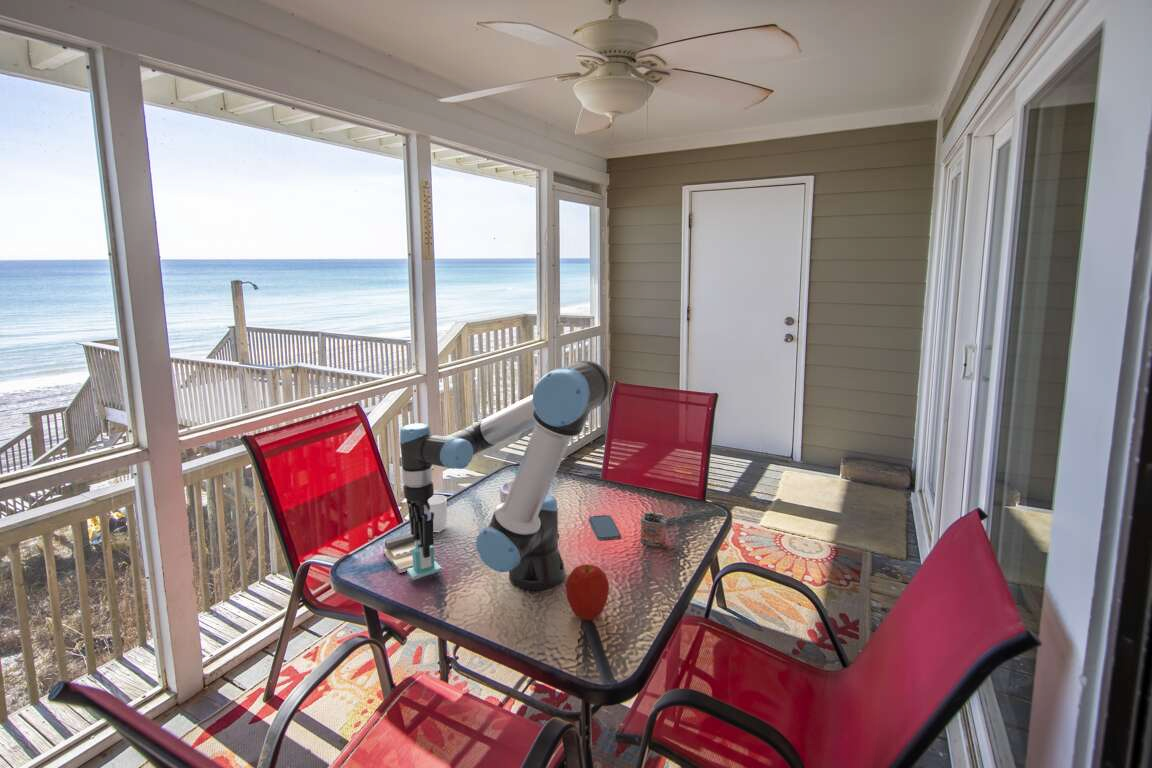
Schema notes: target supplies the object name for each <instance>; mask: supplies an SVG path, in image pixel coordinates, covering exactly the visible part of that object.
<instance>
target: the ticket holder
mask: <svg viewBox="0 0 1152 768" xmlns="http://www.w3.org/2000/svg"><path fill="white" fill-rule="evenodd" d="M415 541H416V540H414V535H412V534H411V533H408V534H404V535H402V536H398V537H397V536H396V537H394V538H391V539H387V540H384V548H385V549H384V548H383V550H382V552H383V551H384V552H385V553H386V554H387V555H388V556H389V558H390V559H391V560H392V561H393V562H394V564H395V565H396V566H397V567H398V569H399V570H401V569H404V568H408V567H411V566H413V555H412V549H413V548H415Z"/></svg>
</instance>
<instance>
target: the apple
mask: <svg viewBox="0 0 1152 768" xmlns="http://www.w3.org/2000/svg"><path fill="white" fill-rule="evenodd" d="M565 590H566V599H567V602H568V604H569V607H570V608H571V611H572V613H573V614H574V615H575V616H576V617H578V618H579V619H580V620H583V621H593V620H595V619H596V618H597V617H599V616H600V615H601V614H602V613H603V612H604V609H605V607H606V605H607V601H608V599H609V590H610V583H609V580H608V577H607V575H606V573H605V572H604V570H602V568H600V567H599V566H597V565H594V564H589V563H587V564H582V565H578V566H576V567H575V568H573V570H571V572H570V573H569V574H568V577H567V579H566V581H565Z"/></svg>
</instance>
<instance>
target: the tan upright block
mask: <svg viewBox="0 0 1152 768" xmlns="http://www.w3.org/2000/svg"><path fill="white" fill-rule="evenodd" d="M639 520H640V540H639V542H640V543H641V544H644V545H647V546H651V547H657V548H665V547H666V546H667V541H666V532H667V529H666V528H667V521H666V520H665V514H664V513H659V512H655V511H654V510H651V511H644V516H641V517H640V519H639Z"/></svg>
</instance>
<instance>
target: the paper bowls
mask: <svg viewBox="0 0 1152 768" xmlns="http://www.w3.org/2000/svg"><path fill="white" fill-rule="evenodd" d="M513 481H514V479H511V480H509V481H508V480H507V481H505V482H504V483H502V484H501V485H500V487H499V499H500V504H501V503H504V502H505V501H506V498H507V496H508V493H509V491H510V488H511V486H512V483H513Z"/></svg>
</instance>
